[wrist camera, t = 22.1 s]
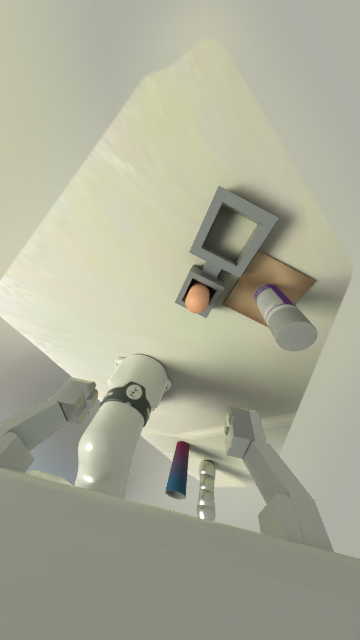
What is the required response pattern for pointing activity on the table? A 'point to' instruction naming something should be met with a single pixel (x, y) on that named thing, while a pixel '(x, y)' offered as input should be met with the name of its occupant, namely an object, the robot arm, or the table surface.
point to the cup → (178, 472)
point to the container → (284, 319)
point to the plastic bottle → (206, 491)
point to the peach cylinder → (198, 297)
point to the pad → (265, 273)
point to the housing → (218, 261)
